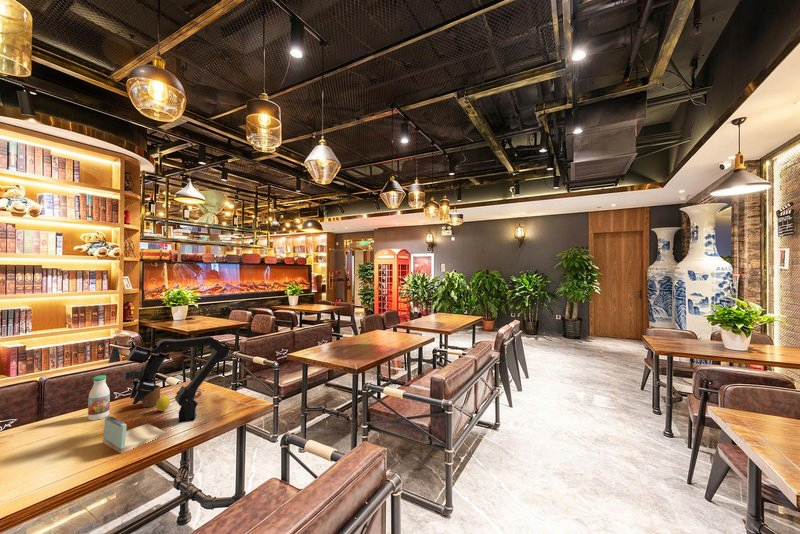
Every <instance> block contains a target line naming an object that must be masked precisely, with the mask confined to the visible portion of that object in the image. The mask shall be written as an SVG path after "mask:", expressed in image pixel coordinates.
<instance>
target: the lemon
mask: <svg viewBox="0 0 800 534" xmlns="http://www.w3.org/2000/svg"><path fill="white" fill-rule="evenodd" d="M170 404H171V403H170V398H169V397H168V396H166V395H163V396H160V398H159V399H158V401H157V404H156V406H155V407H156V409H157V410H158V411H160V412H162V411H163V412H164V411H166V410H167V409H168V408H169V406H170Z"/></svg>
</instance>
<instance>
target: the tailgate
mask: <svg viewBox="0 0 800 534" xmlns="http://www.w3.org/2000/svg"><path fill="white" fill-rule="evenodd" d="M103 427H104V428H103V439H105V440H107V441H109V442H110V443H112V444H114V445H115V446H117V447H119V448H120V449H122V448H125V439H126V431H127V427H128V426H127V423H125V422H123V421H121V420H119V419H117V418H116V417H114V416H110V415H108V416H105V418H104V425H103Z"/></svg>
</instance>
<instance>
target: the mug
mask: <svg viewBox="0 0 800 534" xmlns="http://www.w3.org/2000/svg"><path fill="white" fill-rule="evenodd" d="M160 397H161V386H160V385H159V384H155V389H154V391H152V392H151V393H149V394H148V395H146V396H145V397H144V398H143V399H141V400H140V401H139V402H141V407H142V408H145V407H148V408H153V407H156V404H157V401H158V399H159V398H160ZM134 398H135V397H133V398H132V399H133V400H134ZM152 406H153V407H152Z"/></svg>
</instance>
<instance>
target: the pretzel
mask: <svg viewBox="0 0 800 534" xmlns="http://www.w3.org/2000/svg"><path fill="white" fill-rule="evenodd" d="M201 395H202V391H201V389H200V388H198V389H197V391H196V394H195V396H194V399H196V398H199V397H201Z"/></svg>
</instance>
